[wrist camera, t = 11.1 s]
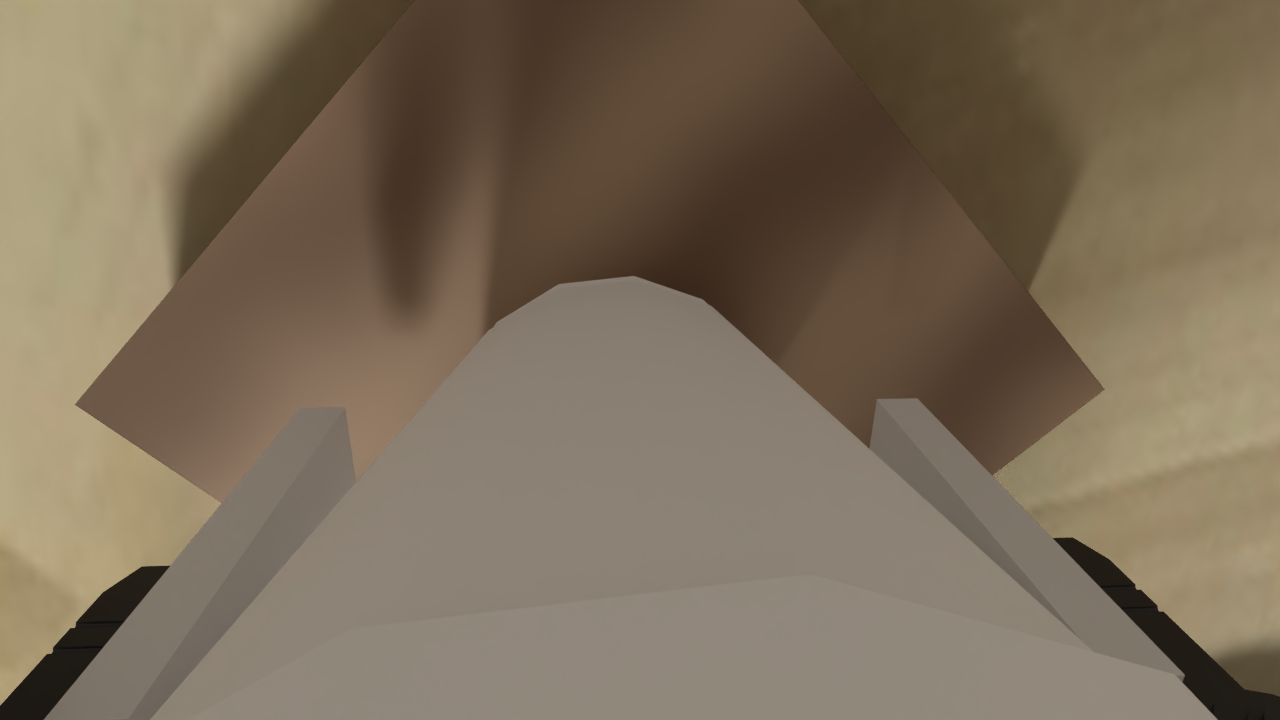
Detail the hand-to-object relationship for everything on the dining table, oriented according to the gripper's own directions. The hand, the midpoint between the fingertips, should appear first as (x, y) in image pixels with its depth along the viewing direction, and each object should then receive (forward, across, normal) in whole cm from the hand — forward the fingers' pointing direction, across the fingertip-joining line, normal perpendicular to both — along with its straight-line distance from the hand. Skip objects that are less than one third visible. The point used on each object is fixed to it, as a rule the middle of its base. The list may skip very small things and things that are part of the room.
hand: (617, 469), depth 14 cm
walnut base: (+7, 0, 0) cm, 7 cm away
